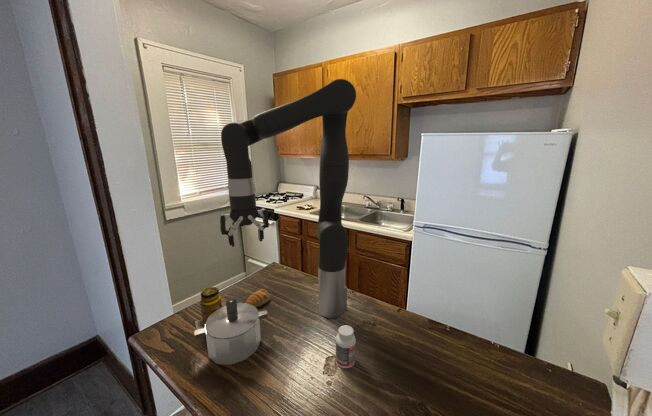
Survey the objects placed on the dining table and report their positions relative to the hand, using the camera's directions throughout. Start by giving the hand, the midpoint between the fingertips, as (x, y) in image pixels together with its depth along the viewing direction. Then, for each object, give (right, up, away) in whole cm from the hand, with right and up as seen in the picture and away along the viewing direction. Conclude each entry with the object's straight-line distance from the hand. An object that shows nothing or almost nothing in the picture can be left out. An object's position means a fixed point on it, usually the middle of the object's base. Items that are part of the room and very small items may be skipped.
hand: (246, 243), depth 79 cm
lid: (-2, -23, -7) cm, 24 cm away
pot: (-2, -29, -5) cm, 30 cm away
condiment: (-13, -27, +4) cm, 31 cm away
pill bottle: (+30, -31, -11) cm, 45 cm away
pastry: (-1, -25, +15) cm, 29 cm away
